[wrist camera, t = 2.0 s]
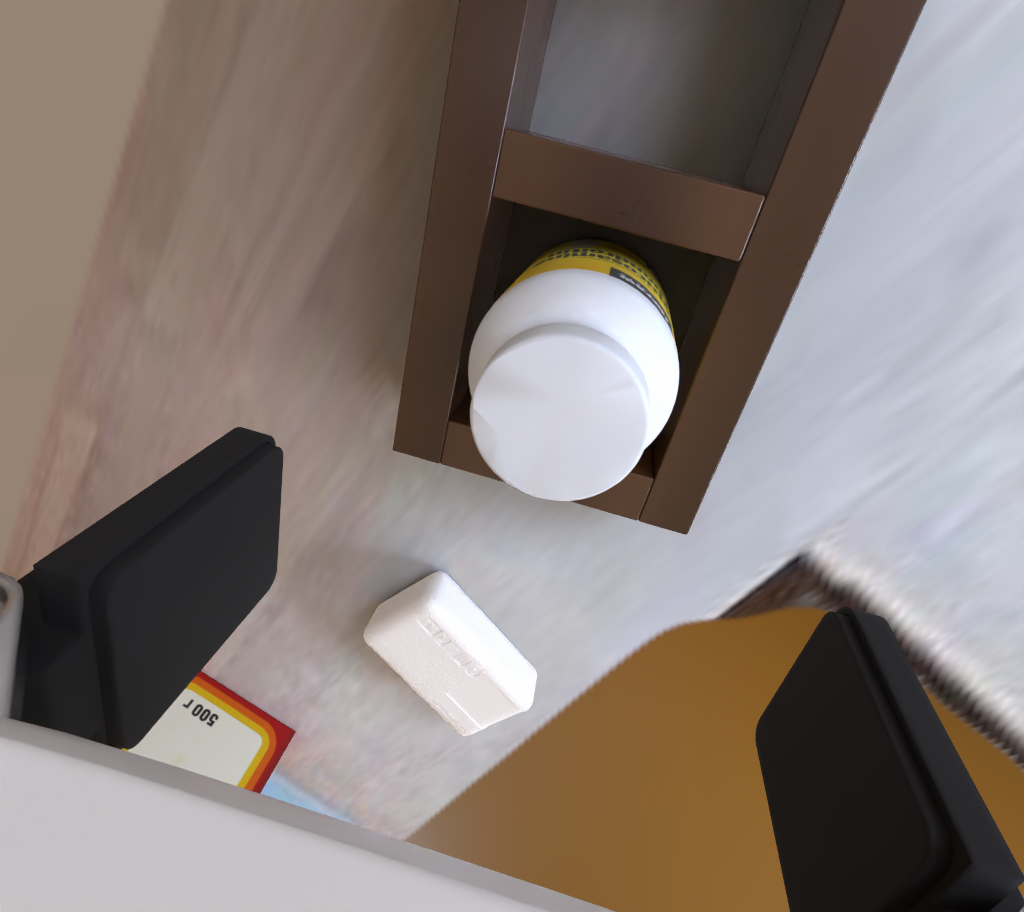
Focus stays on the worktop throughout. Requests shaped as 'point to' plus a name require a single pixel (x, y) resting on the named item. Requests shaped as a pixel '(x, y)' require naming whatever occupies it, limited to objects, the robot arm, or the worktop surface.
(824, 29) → the brown divided wooden tray
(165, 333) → the worktop surface
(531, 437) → the pill bottle
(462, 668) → the soap
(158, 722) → the baking soda box
